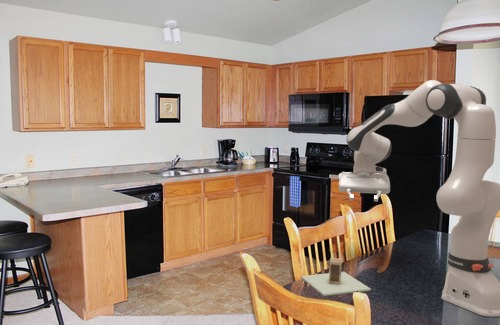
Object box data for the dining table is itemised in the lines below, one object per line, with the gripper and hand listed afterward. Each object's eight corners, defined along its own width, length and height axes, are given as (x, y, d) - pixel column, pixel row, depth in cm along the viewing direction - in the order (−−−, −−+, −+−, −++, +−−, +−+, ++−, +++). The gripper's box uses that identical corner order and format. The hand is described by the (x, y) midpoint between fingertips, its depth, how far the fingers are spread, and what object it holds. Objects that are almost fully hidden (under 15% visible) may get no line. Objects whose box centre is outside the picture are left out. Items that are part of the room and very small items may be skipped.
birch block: (329, 279, 158) (330, 258, 157) (340, 280, 157) (341, 259, 156) (328, 283, 154) (329, 261, 153) (340, 285, 153) (341, 262, 152)
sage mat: (370, 290, 150) (370, 288, 150) (323, 296, 144) (323, 294, 144) (343, 273, 167) (344, 271, 167) (300, 277, 161) (300, 276, 161)
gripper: (338, 167, 181) (336, 193, 173) (390, 168, 176) (390, 196, 168) (338, 176, 186) (336, 203, 177) (389, 178, 181) (389, 206, 172)
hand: (363, 200), depth 172 cm, fingers open, 8 cm apart
